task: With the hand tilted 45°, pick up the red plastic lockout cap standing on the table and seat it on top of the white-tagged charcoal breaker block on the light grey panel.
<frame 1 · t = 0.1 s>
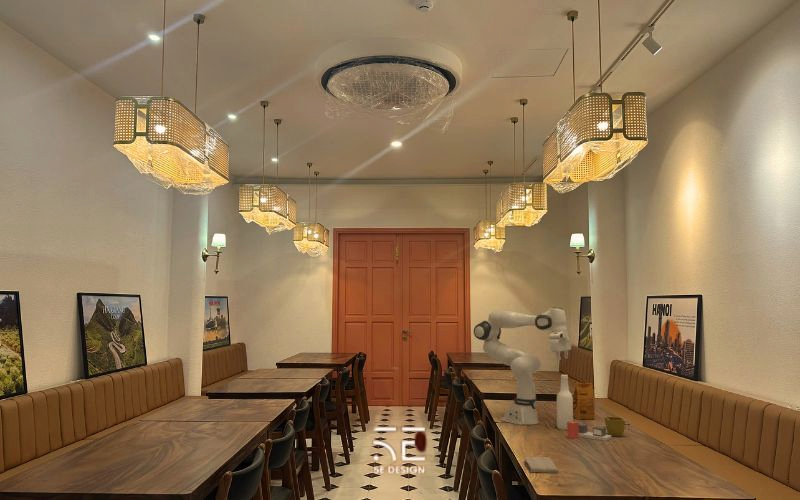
hand: (562, 359, 321), 39 cm above the table, tool pointing down, fingers open, 8 cm apart
alcohol: (565, 428, 317), on the table
washcloth: (540, 468, 241), on the table
cap: (572, 437, 295), on the table
panel: (590, 436, 298), on the table
flower pot: (615, 435, 302), on the table
coffee package: (583, 418, 346), on the table
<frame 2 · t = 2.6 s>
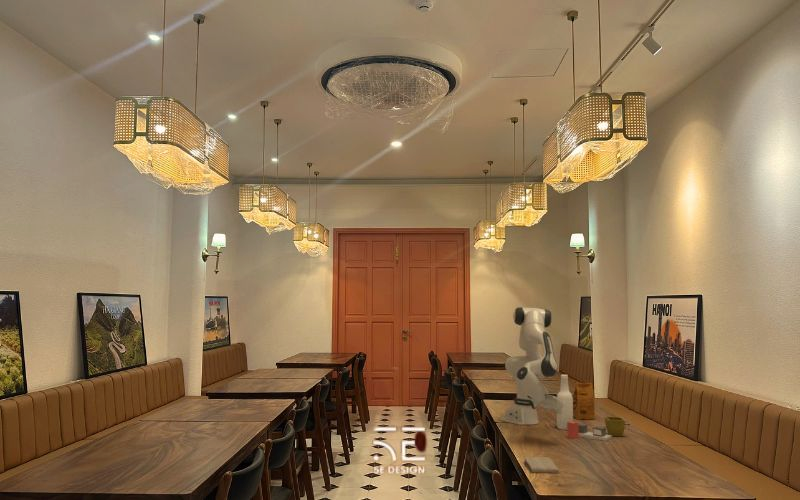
hand: (554, 411, 291), 14 cm above the table, tool tilted 45°, fingers open, 8 cm apart
nothing on the table moved.
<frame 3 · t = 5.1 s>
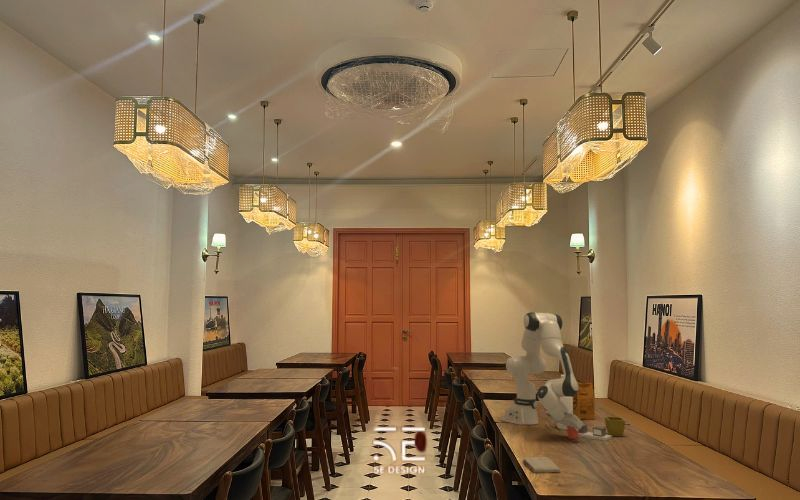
hand: (573, 429, 296), 4 cm above the table, tool tilted 45°, fingers closed on cap, 4 cm apart
cap: (572, 437, 295), on the table, touching gripper
everything else where it was.
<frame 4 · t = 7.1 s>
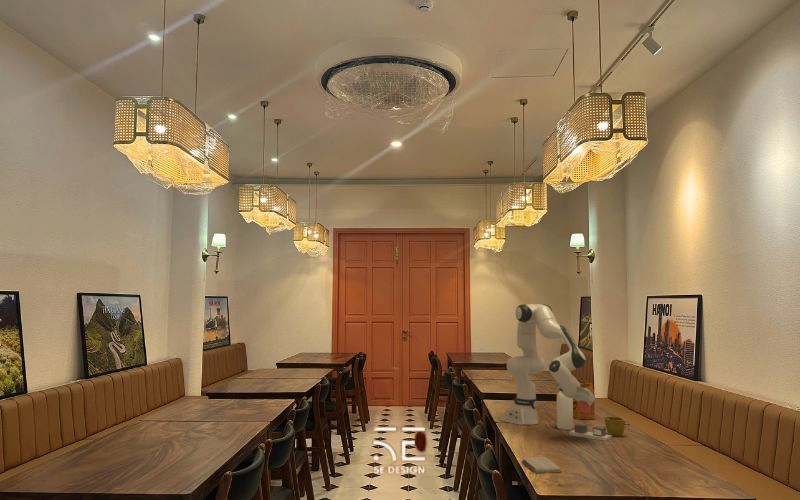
hand: (586, 403, 297), 18 cm above the table, tool tilted 45°, fingers closed on cap, 4 cm apart
cap: (585, 412, 296), point 13 cm above the table, touching gripper
everything else where it was.
when the fingers open (11 cm above the table, at t = 9.4 s): cap stays where it is, resting on panel.
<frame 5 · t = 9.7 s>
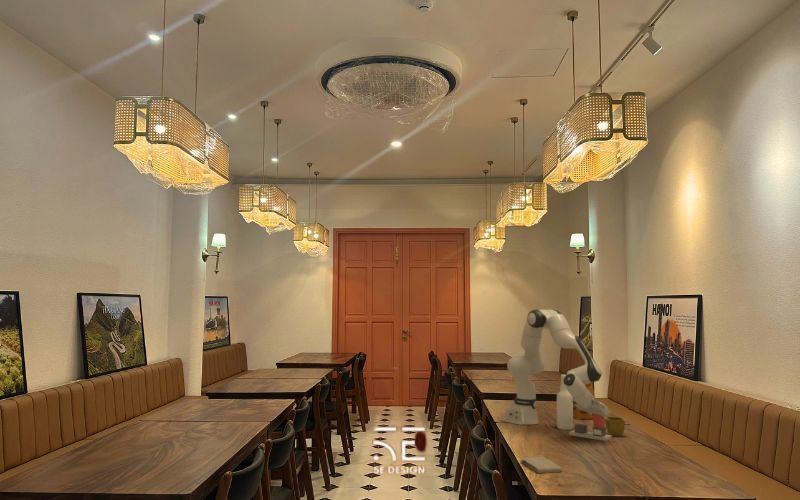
hand: (599, 417, 296), 11 cm above the table, tool tilted 45°, fingers open, 7 cm apart
cap: (599, 427, 296), point 5 cm above the table, touching panel
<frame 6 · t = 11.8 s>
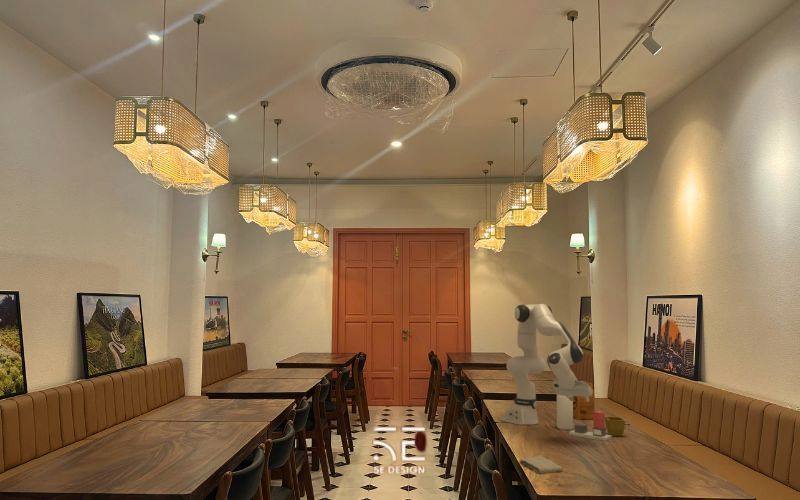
hand: (579, 400, 293), 20 cm above the table, tool tilted 40°, fingers open, 8 cm apart
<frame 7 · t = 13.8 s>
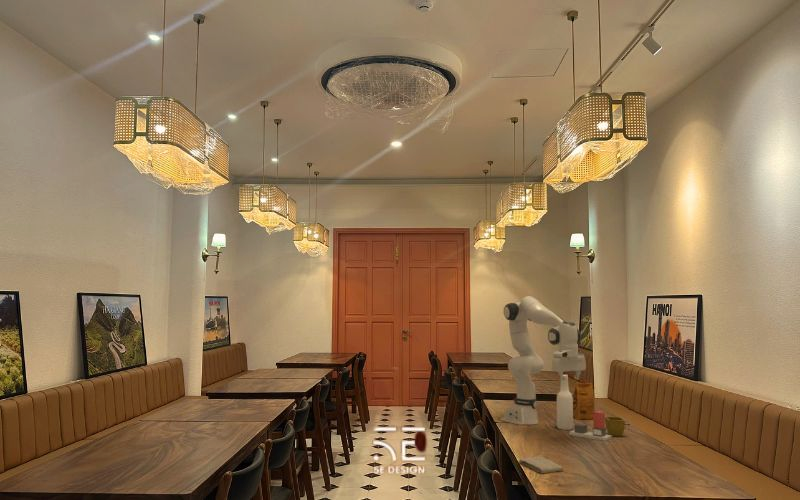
hand: (569, 379, 291), 31 cm above the table, tool pointing down, fingers open, 8 cm apart
at the end: cap 0.1 cm from the target spot, point 5.5 cm above the table; cap tilted 0°; the gripper is holding nothing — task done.
